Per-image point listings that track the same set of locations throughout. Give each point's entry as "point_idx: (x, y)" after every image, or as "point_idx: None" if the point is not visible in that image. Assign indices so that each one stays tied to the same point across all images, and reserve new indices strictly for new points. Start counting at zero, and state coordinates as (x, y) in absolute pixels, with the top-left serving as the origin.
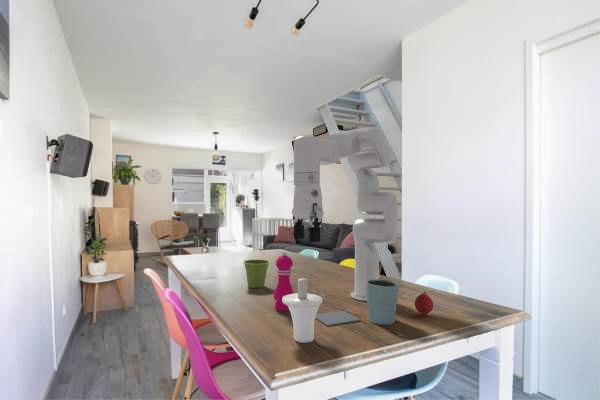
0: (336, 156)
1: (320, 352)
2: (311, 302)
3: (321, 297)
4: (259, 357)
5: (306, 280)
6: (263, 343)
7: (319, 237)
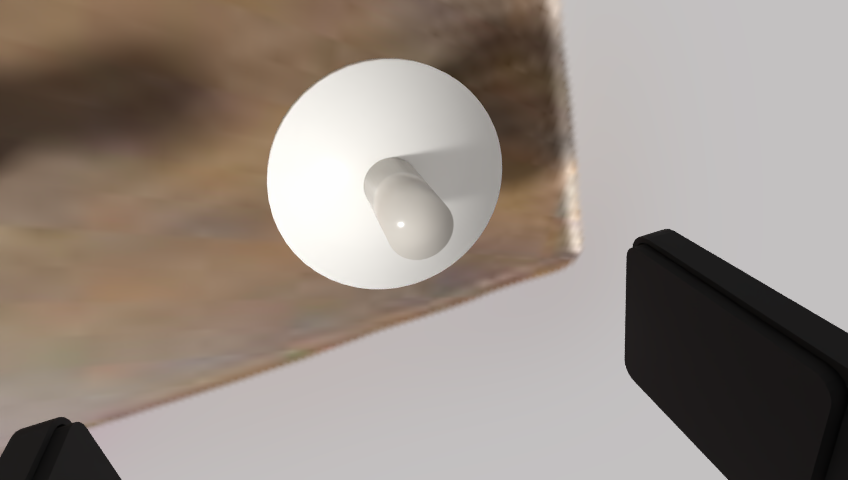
0: None
1: (495, 92)
2: (479, 152)
3: (393, 61)
4: (473, 288)
5: (446, 206)
6: None
7: (706, 263)
